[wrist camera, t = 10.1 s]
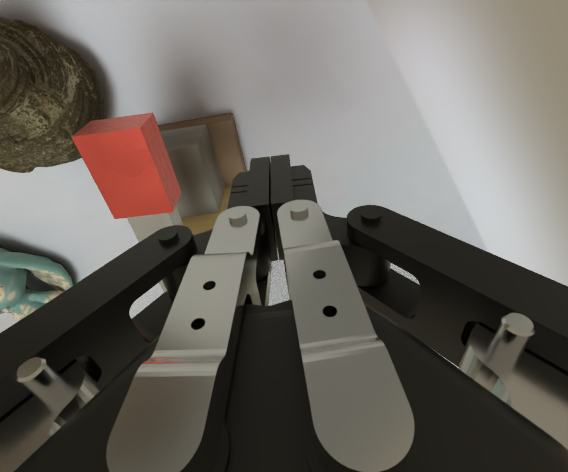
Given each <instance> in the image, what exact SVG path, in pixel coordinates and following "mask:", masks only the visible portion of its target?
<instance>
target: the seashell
mask: <svg viewBox="0 0 568 472" xmlns="http://www.w3.org/2000/svg"><path fill="white" fill-rule="evenodd" d="M102 119H104V100H103V98H102V97H101V93H100V88H99V82H98V80H97V78H96V75H95V73H94V71H93V70H92V68H91V67H90V65H89V64H88V63H87V61H86V60H85V59H84V58H83V57H81V56H80V55H79V54H78V53H77V52H75V51H73V50H72V49H70V48H68V47H66V46H64V45H62V44H60V43H59V42H57V41H56V40H54V39H53V38H52V37H51V36H50V35H48V34H46V33H45V32H43V31H42V30H40V29H38V28H37V27H35V26H32V25H29V24H27V23H25V22H23V21H19V20H13V21H11V20H7V19H3V18H0V168H1V169H4V170H7V171H12V172H20V173H26V172H31V171H33V170H34V168H35V167H49V166H55V165H59V164H63V163H68V162H71V161H75V160H77V159H80V158H82V156H81V154H80V152H79V151H78V149H77V147H76V145H75V143H74V141H73V139H72V137H71V136H73V135H74V134H75V133H76V132H78V131H79V130H80V129H81V128H83V127H84V126H85V125H86V124H88V123H89V122H90V121H94V120H102Z"/></svg>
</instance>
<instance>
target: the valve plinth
mask: <svg viewBox="0 0 568 472" xmlns="http://www.w3.org/2000/svg"><path fill="white" fill-rule="evenodd" d="M158 128H159V131H160V133H161V136H162V139H163V142H164V145H165V147H166V150H167V153H168V156H169V159H170V161H171V164H172V167H173V170H174V173H175V176H176V178H177V181H178V184H179V187H180V190H181V195H180V197H179V200H178V202H177V204H176V207H177V210H178V213H179V215H180V218H181V220H182V223H183V226H186V227H188V228H189V229H190V230H191V231H192V234H193V235H196V234H199V233H203V232H206V231H208V230H211V229H213V228H214V225H215V222H216V219H217V217H218V216H219V215H220V214H221V213H222V212H224V211H225V210H227V207H228V202H229V197H230V191H231V188H232V187H231V186H232V181H233V179H234V178H235V176H236V175H237V174H238V173H239V172H247V171H246V167H245V163H244V159H243V155H242V151H241V147H240V143H239V138H238V134H237V130H236V126H235V122H234V118H233V114H232V113H230V114H224V115H218V116H212V117H206V118H200V119H194V120H188V121H182V122H176V123H170V124H164V125H158ZM270 275H271V269H270Z"/></svg>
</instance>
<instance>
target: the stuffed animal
mask: <svg viewBox="0 0 568 472" xmlns="http://www.w3.org/2000/svg"><path fill="white" fill-rule="evenodd" d="M28 270H29V271H30V272H31V273H32V274H33V275H34V276H35V277H37V278H39V279H41V280H43V281H44V282H46V283H48V284H50V285H52V286H53V287H55V288H57V289H58V290H60V291H55V290H54V291H45V292H41V291H38V290H31V289H27V288H26V280H27V273H28ZM72 286H73V282H72V279H71V276H70V275H69V274H68V273H67V271H66V270H65V269H64V268H63V266H62V265H61V264H58V263H56V262H54V261H52V260H51V259H49V258H48V257H44V256H36V255H31V254H26V253H21V252H10V251H8V250H6V249H3V248H0V314H1V313H4V312H7V313H12V315H13V318H16V319H21V318H24V317H25V316H28V315H29V314H31V313H32V312H34V311H35V310H37V309H38V308H40V307H41V306H43V305H44V304H46V303H47V302H49V301H50V300H52V299H54V298H55V297H57V296H58V295H60V294H61V293H63V292H64V291H66V290H67V289H69V288H70V287H72Z"/></svg>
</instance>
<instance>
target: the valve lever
mask: <svg viewBox="0 0 568 472" xmlns="http://www.w3.org/2000/svg"><path fill="white" fill-rule="evenodd" d="M71 137H72V139H73V141H74V143H75V145H76V147H77V149H78V151H79V152H80V154H81V156H82V158H83V160H84V162H85V164H86V166H87V168H88V169H89V171H90V173H91V175H92V177H93V179H94V181H95V183H96V185H97V186H98V188H99V190H100V192H101V194H102V196H103V198H104V200H105V201H106V203H107V205H108V207H109V209H110V211H111V213H112V215H113V217H114V218H115V219H119V218H127V219H128V221H129V223H130V225H131V227H132V229H133V231H134V233H135V235H136V237H137V239H138V241H139V242H141V241H142V240H144V239H145V238H147V237H148V236H150V235H151V234H153V233H154V232H156V231H158V230H160V229H162V228H165V227H168V226H173V225H183V223H182V220H181V218H180V215H179V213H178V210H177V207H176V204H177V202H178V200H179V197H180V195H181V190H180V187H179V184H178V181H177V178H176V176H175V173H174V170H173V167H172V164H171V161H170V159H169V156H168V153H167V150H166V147H165V145H164V142H163V139H162V136H161V133H160V131H159V128H158V125H157V122H156V119H155V116H154V114H153V113H148V114H140V115H133V116H125V117H117V118H110V119H102V120H94V121H90V122H89V123H88V124H86V125H85V126H84V127H83V128H81V129H80V130H79V131H78V132H76V133H75V134H74V135H73V136H71ZM159 283H160V285H161V287H162V289H163V291H164V293H165V292H166V291H167V290H166V288H165V286H164V284H163V281H162V280H161V281H160V282H159Z"/></svg>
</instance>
